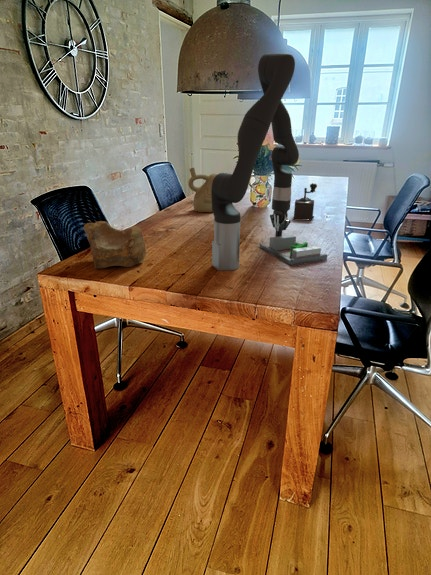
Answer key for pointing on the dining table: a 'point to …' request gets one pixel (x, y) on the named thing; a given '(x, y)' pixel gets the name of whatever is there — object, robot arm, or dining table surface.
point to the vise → (299, 255)
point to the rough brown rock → (115, 245)
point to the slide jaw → (282, 242)
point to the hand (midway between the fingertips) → (278, 238)
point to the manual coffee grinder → (305, 205)
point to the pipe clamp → (298, 246)
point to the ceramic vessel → (202, 192)
